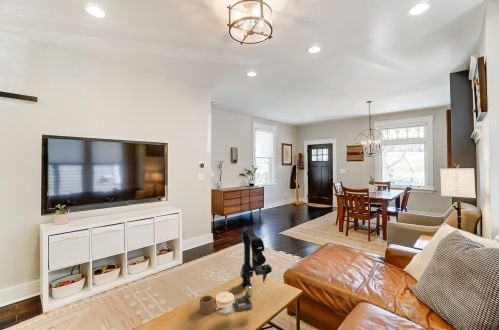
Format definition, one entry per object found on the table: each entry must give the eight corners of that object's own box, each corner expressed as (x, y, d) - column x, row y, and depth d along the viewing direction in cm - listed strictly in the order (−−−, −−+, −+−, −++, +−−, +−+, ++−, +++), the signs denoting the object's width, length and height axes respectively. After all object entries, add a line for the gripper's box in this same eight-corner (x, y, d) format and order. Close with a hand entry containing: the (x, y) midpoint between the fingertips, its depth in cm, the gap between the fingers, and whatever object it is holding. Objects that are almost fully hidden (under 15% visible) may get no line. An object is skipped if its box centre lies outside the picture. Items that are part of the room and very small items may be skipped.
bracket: (203, 316, 138) (203, 304, 138) (197, 309, 144) (197, 298, 145) (229, 306, 148) (229, 295, 148) (223, 300, 154) (223, 289, 155)
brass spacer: (244, 294, 161) (244, 285, 161) (251, 293, 162) (251, 284, 162) (246, 298, 156) (246, 289, 156) (252, 297, 157) (252, 288, 158)
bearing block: (235, 302, 151) (235, 298, 151) (248, 300, 154) (248, 296, 154) (238, 310, 142) (237, 306, 142) (252, 308, 145) (252, 304, 145)
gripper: (244, 265, 137) (245, 291, 137) (274, 261, 142) (274, 287, 141) (241, 258, 148) (241, 282, 148) (268, 255, 153) (269, 279, 152)
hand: (256, 283), depth 147 cm, fingers open, 9 cm apart
